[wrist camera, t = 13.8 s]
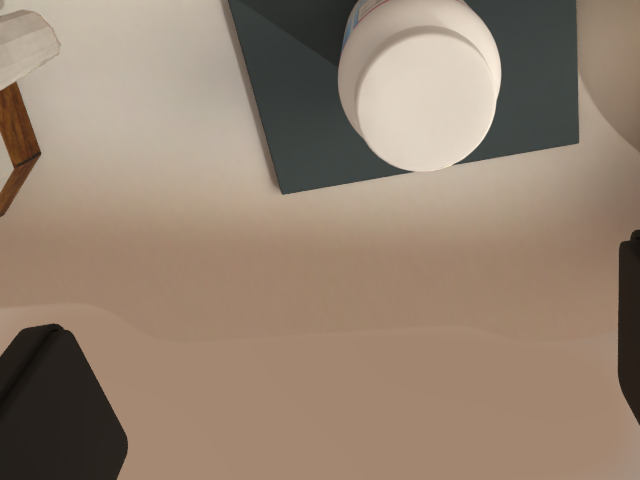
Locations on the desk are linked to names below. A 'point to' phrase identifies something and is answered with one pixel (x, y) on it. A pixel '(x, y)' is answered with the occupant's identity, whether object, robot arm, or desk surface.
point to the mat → (326, 108)
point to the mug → (19, 95)
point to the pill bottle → (419, 80)
